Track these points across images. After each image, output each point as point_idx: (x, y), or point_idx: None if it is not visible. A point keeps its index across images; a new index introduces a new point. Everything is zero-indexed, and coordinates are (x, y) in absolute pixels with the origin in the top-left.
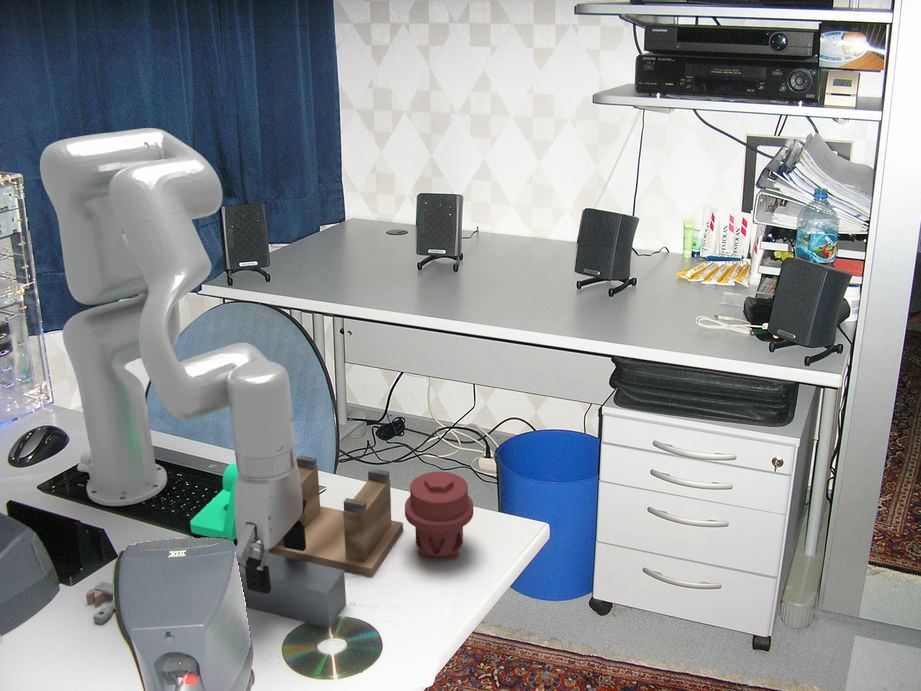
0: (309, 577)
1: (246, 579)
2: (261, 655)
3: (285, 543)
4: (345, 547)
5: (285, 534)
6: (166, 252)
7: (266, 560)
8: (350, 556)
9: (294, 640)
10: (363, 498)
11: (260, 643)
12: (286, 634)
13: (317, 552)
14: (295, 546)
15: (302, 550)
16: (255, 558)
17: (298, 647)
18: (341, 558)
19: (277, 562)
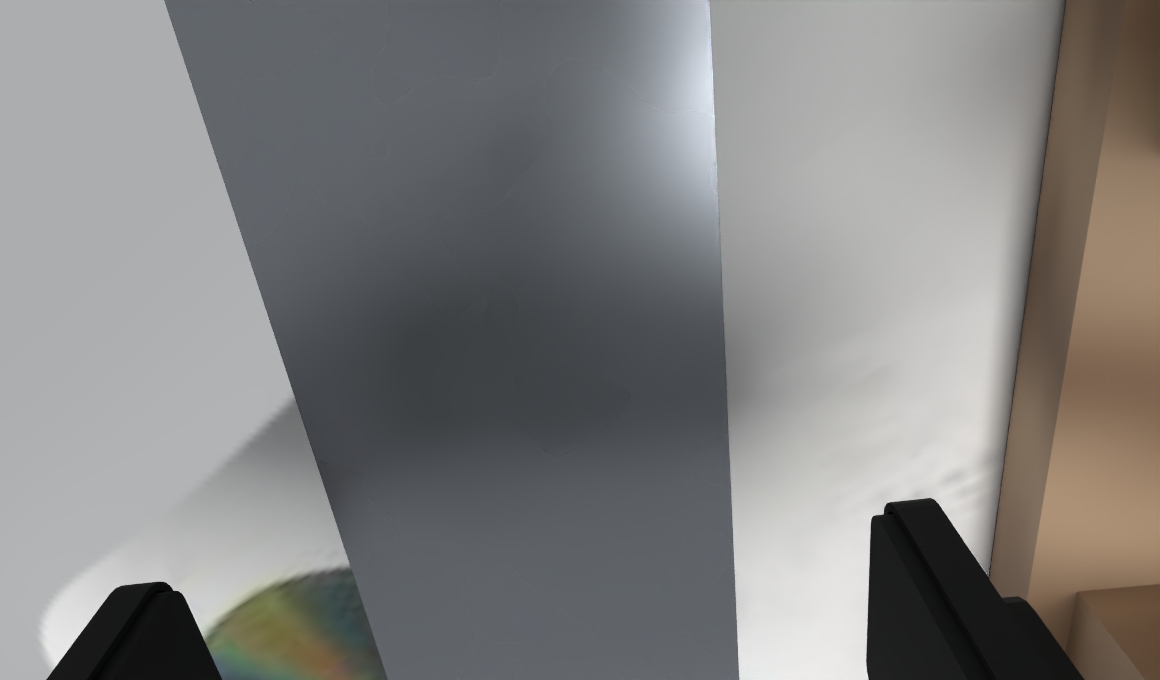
0: None
1: (51, 674)
2: (139, 543)
3: (892, 562)
4: (1135, 669)
5: (948, 675)
6: None
7: (598, 468)
8: (1084, 640)
9: (336, 614)
10: None
11: (202, 490)
12: (347, 562)
13: (1111, 406)
14: (882, 647)
15: (870, 675)
16: (573, 350)
17: (308, 651)
18: (1069, 573)
19: (625, 563)
